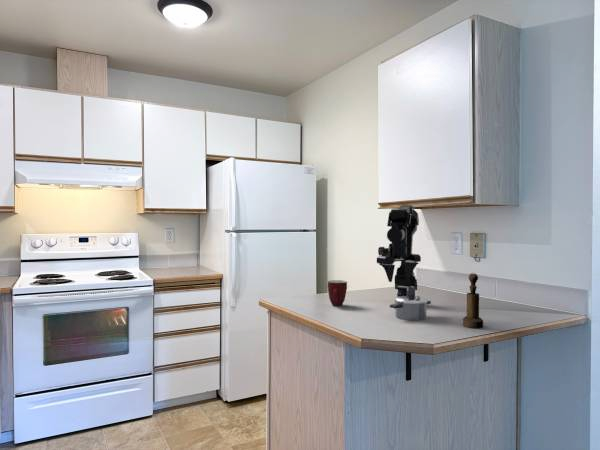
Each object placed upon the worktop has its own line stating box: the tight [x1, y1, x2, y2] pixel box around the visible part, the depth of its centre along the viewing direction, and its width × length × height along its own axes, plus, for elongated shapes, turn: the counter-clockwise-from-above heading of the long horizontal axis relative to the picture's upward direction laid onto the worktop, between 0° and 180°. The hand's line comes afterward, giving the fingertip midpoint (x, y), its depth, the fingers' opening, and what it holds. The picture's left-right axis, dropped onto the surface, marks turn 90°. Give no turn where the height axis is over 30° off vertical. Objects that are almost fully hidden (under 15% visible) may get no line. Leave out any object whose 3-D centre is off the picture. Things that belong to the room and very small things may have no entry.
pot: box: [389, 299, 432, 322], centre depth 159 cm, size 18×11×6 cm, turn 121°
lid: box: [394, 286, 428, 304], centre depth 159 cm, size 12×12×5 cm
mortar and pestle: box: [462, 272, 484, 329], centre depth 147 cm, size 7×6×18 cm
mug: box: [327, 279, 348, 307], centre depth 179 cm, size 10×8×10 cm
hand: (398, 280), depth 169 cm, fingers open, 9 cm apart
